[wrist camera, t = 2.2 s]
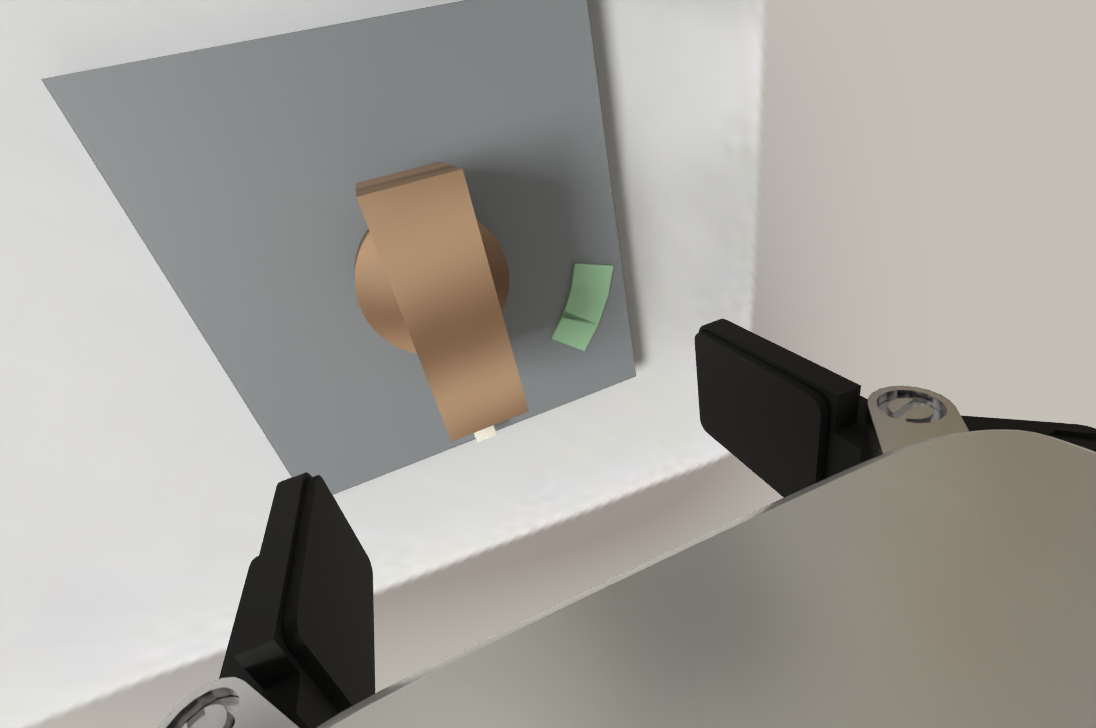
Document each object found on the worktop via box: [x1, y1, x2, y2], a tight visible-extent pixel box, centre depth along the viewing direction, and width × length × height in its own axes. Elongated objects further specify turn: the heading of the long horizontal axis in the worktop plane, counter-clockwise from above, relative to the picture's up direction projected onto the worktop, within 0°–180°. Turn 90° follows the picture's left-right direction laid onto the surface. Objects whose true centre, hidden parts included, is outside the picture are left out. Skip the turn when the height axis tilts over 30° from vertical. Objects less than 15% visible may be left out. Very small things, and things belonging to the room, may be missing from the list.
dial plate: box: [42, 0, 636, 495], centre depth 25 cm, size 21×21×2 cm
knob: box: [355, 162, 529, 442], centre depth 22 cm, size 15×7×7 cm, turn 13°
